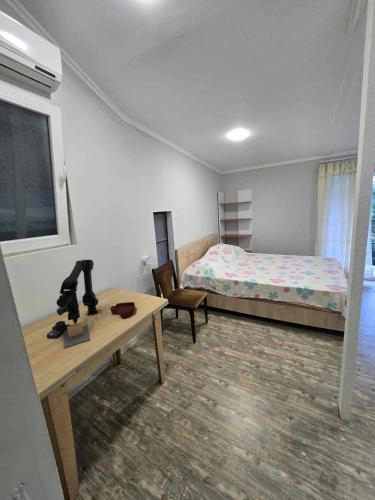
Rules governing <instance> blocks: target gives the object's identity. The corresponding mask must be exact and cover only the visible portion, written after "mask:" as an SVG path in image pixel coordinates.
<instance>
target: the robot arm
mask: <svg viewBox="0 0 375 500" xmlns="http://www.w3.org/2000/svg"><path fill="white" fill-rule="evenodd" d="M94 265H95V263H94V261H93V260H92V259H82V260H76V261H75V265H74V266H73V269H72V270H71V272H70V274H69V276H67V277H66V278H65V279H63V281H62V283H61V285H60V291H59V294H60V295H59V296H58V299H57V300H56V305H57V307H58V308H56V313H57V315H58V316H60V317H61V316H62V315H64V314H65V313H68V314H67V320H68V321H72V322H73V325H76V324H77V323H78V321H79V319H80V318H81V315H80V314H81V313H80V309H79V308H80V305H79V301H78V297H77V295H78V294H77V291H78V284H79V281H78V280H79V277H80V275H81V273H83V283H84V294H83V295H82V300H81V301H82V304H83V306H84V307H87V311H86V313H87V316H90V315H94V314H98V309H97V305H99V299H98V298H97V297H96V293H95V292H94V290H93V279H92V271H93V269H94Z"/></svg>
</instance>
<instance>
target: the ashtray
mask: <svg viewBox="0 0 375 500" xmlns="http://www.w3.org/2000/svg"><path fill="white" fill-rule="evenodd" d="M135 309H136V304H135V302H134V301H128V302H127V301H126V302H125V301H124V302H119V303H118V302H117V304H115V305H111V306H110V312H111V313H113V314H118V315H119V316H120V317H121V318H125V319H126V318H128V317H129V316H131V315H132V314H133V313H134V312H135Z"/></svg>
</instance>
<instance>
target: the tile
mask: <svg viewBox="0 0 375 500" xmlns="http://www.w3.org/2000/svg"><path fill="white" fill-rule="evenodd" d="M83 326H84V325H83V322H81V323H78V324H77V323H76V324H73V325H72V324H71V325H70V326H68V327H67V329H68V330H67V331H68V336H69V337H72V336H75V335H79V334H82V333H84V330H83Z"/></svg>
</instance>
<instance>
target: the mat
mask: <svg viewBox="0 0 375 500" xmlns="http://www.w3.org/2000/svg"><path fill="white" fill-rule="evenodd" d="M83 330H84V333H82V334H79V335H75V336H72V337H69V336H68V330H67V331H64V333H63V335H64V337H63V338H64V339H63V349H66V348H71V347H74V346H77V345H80V344H83V343H86V342H90V341H91V338H90V337H91V336H90V331H89V325H83Z"/></svg>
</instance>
